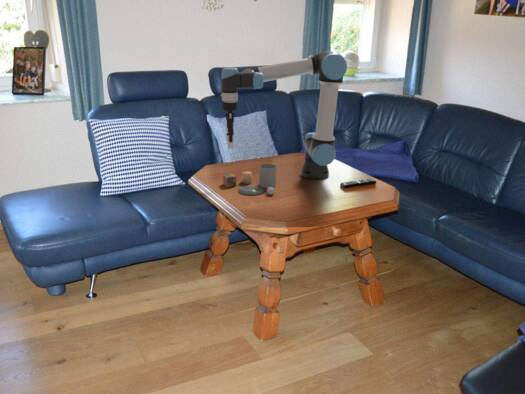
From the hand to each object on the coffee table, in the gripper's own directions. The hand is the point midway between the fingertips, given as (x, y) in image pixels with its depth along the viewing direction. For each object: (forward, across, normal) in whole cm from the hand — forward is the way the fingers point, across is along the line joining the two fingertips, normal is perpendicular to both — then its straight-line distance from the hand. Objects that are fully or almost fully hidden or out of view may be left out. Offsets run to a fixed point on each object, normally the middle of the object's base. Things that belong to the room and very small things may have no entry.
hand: (230, 144), depth 250 cm
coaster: (+21, +10, +10) cm, 25 cm away
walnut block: (+21, 0, 0) cm, 21 cm away
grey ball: (+21, +15, +19) cm, 32 cm away
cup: (+21, +1, +19) cm, 28 cm away
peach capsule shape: (+21, -4, +9) cm, 23 cm away
